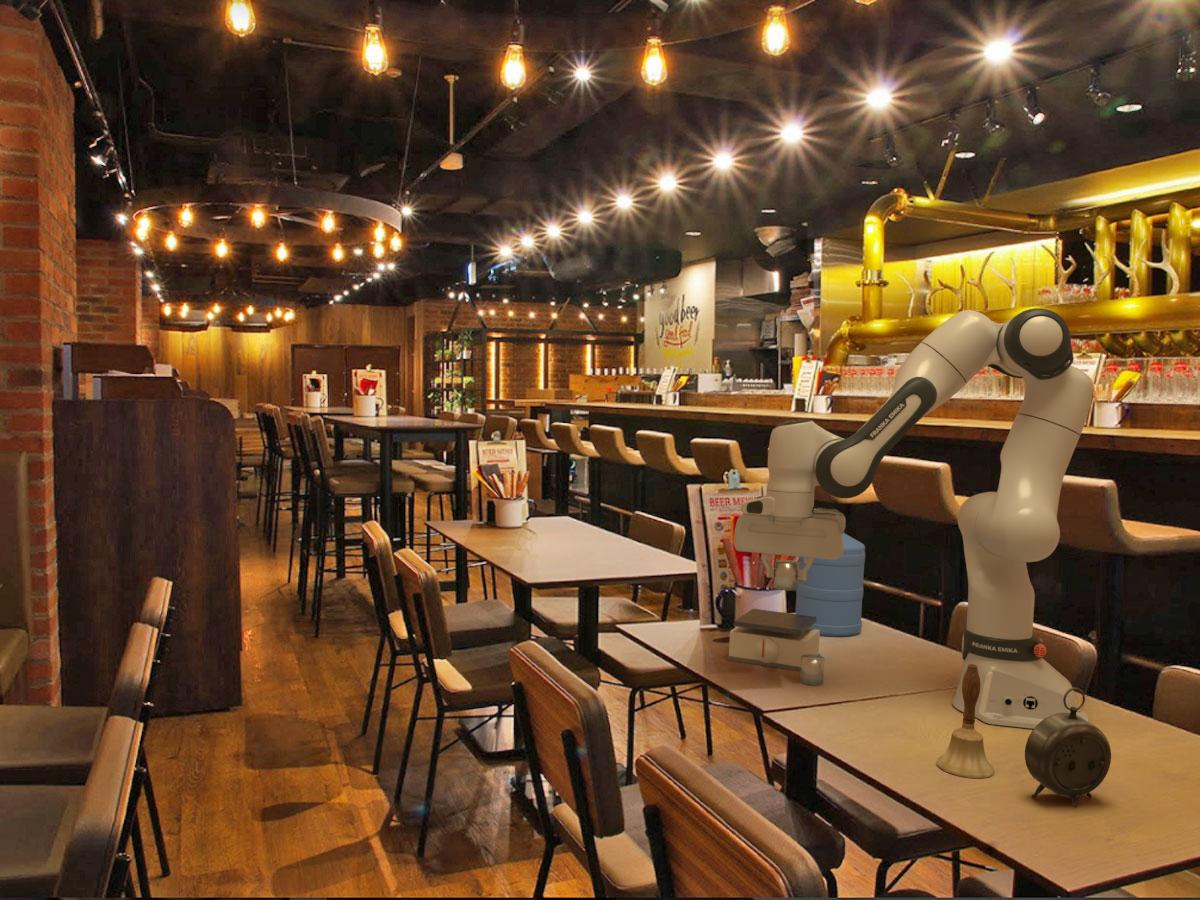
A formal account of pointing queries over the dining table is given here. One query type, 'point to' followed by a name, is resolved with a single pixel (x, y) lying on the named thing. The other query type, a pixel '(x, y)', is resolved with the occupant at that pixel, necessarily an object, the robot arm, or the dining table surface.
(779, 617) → the pan
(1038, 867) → the dining table surface
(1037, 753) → the alarm clock
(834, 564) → the water jug
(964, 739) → the hand bell
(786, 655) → the scale body
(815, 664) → the small glass cup
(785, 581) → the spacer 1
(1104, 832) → the dining table surface
